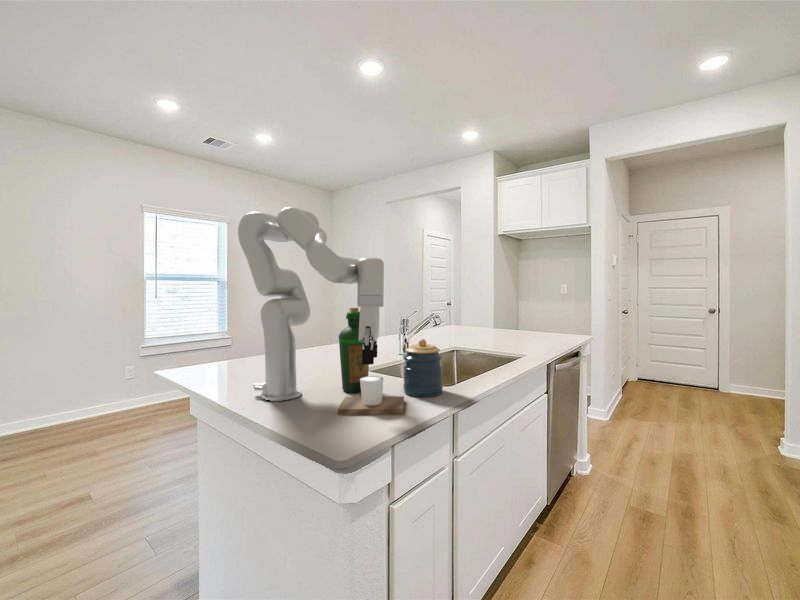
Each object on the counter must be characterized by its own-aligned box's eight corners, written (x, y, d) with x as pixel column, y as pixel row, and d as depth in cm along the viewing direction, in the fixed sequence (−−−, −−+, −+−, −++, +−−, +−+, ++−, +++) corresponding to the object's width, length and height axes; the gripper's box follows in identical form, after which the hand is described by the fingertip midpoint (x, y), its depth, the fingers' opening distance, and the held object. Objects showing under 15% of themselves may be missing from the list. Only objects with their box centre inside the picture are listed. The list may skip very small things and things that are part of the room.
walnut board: (337, 414, 102) (337, 409, 102) (345, 401, 114) (345, 396, 114) (403, 414, 101) (403, 409, 101) (404, 401, 113) (404, 396, 113)
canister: (451, 393, 121) (450, 339, 120) (418, 400, 114) (417, 343, 113) (427, 385, 132) (426, 335, 131) (396, 390, 125) (395, 338, 124)
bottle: (364, 395, 120) (362, 308, 119) (334, 393, 123) (332, 308, 122) (375, 386, 130) (374, 307, 129) (347, 385, 133) (346, 307, 132)
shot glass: (385, 399, 110) (385, 375, 110) (381, 406, 104) (381, 381, 103) (362, 398, 111) (362, 375, 111) (357, 405, 104) (357, 381, 104)
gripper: (361, 300, 115) (361, 354, 116) (352, 302, 98) (352, 366, 99) (385, 300, 115) (385, 355, 116) (380, 303, 98) (380, 367, 98)
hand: (369, 360), depth 107 cm, fingers open, 9 cm apart
